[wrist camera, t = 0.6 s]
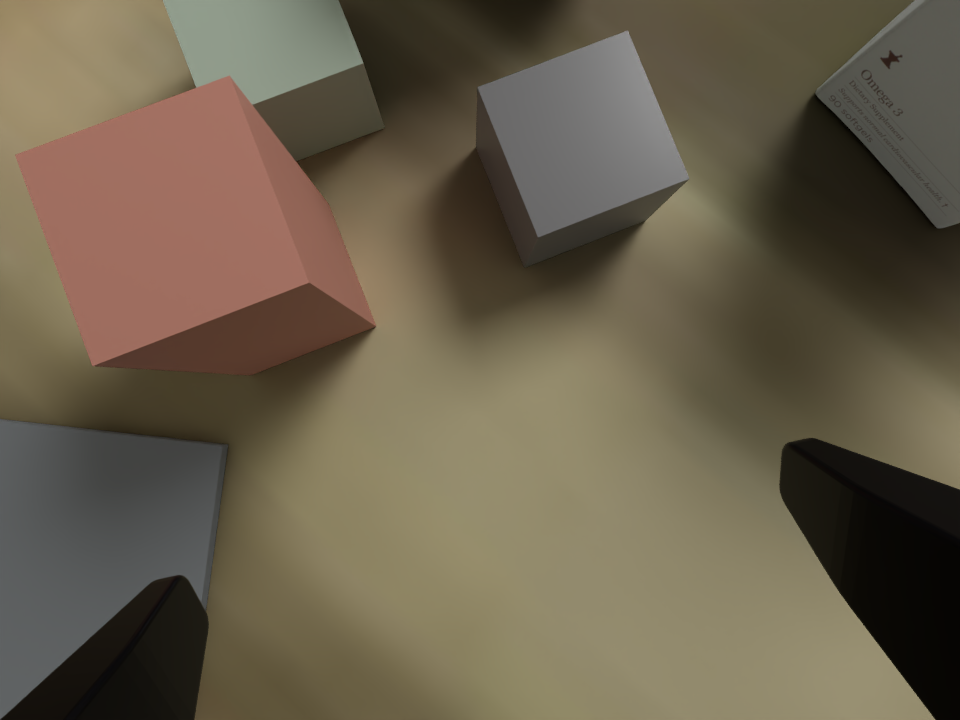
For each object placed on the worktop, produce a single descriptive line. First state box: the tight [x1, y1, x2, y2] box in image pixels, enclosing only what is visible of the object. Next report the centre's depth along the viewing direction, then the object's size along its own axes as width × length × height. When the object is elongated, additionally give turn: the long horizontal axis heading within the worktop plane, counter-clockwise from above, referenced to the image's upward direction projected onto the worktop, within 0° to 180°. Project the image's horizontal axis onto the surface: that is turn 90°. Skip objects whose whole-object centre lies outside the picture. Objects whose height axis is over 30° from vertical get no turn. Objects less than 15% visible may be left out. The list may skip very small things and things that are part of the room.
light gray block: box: [476, 31, 689, 268], centre depth 20 cm, size 5×5×4 cm
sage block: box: [163, 0, 385, 161], centre depth 20 cm, size 5×5×4 cm
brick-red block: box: [15, 75, 376, 375], centre depth 17 cm, size 5×5×9 cm
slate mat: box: [0, 419, 228, 719], centre depth 21 cm, size 12×11×1 cm
